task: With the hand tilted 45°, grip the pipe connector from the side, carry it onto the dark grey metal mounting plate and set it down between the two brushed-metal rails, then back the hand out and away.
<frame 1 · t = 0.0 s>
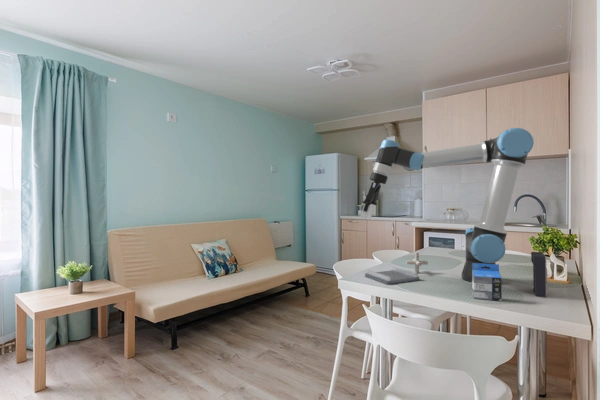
hand: (365, 217, 150), 28 cm above the table, tool tilted 20°, fingers open, 13 cm apart
pipe connector: (417, 273, 160), on the table
ink cartridge box: (486, 299, 118), on the table
calculator: (539, 293, 124), on the table
mounting plate: (391, 278, 149), on the table
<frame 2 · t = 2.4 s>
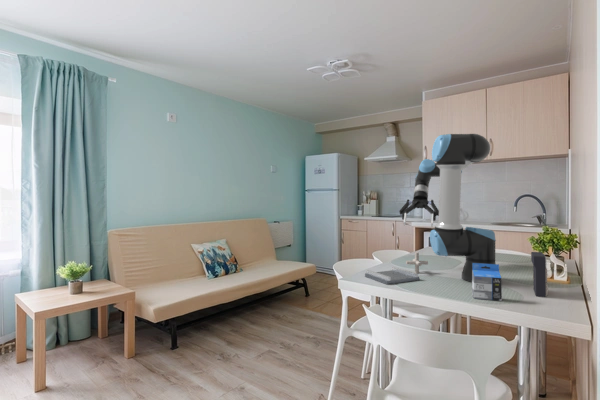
hand: (418, 224, 170), 23 cm above the table, tool tilted 40°, fingers open, 13 cm apart
nothing on the table moved.
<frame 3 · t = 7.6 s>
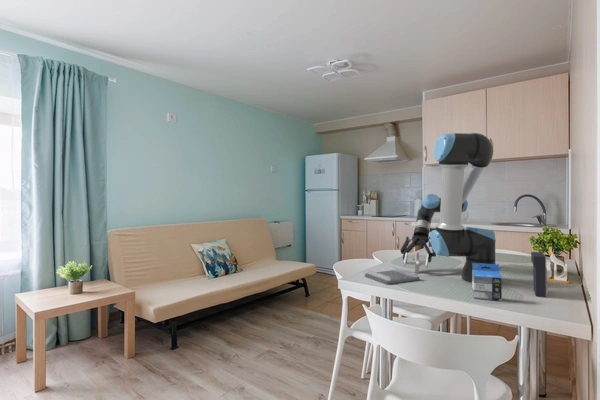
hand: (415, 265, 158), 4 cm above the table, tool tilted 45°, fingers closed on pipe connector, 9 cm apart
pipe connector: (417, 273, 160), on the table, touching gripper
everything else where it was.
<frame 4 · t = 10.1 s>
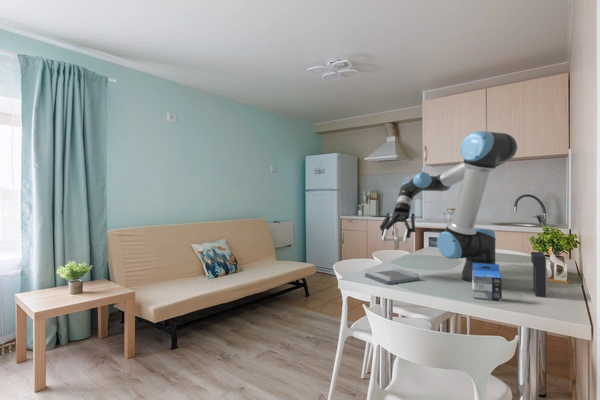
hand: (393, 241, 152), 16 cm above the table, tool tilted 45°, fingers closed on pipe connector, 9 cm apart
pipe connector: (396, 249, 155), point 12 cm above the table, touching gripper
everything else where it was.
when the fingers open (7 cm above the table, at t = 12.9 s): pipe connector drops 1 cm, resting on mounting plate.
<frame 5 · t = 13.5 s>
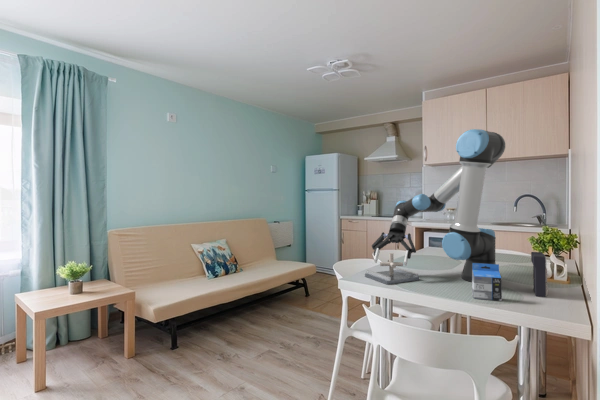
hand: (389, 262, 147), 8 cm above the table, tool tilted 45°, fingers open, 13 cm apart
pipe connector: (391, 275, 149), point 1 cm above the table, touching mounting plate
everything else where it was.
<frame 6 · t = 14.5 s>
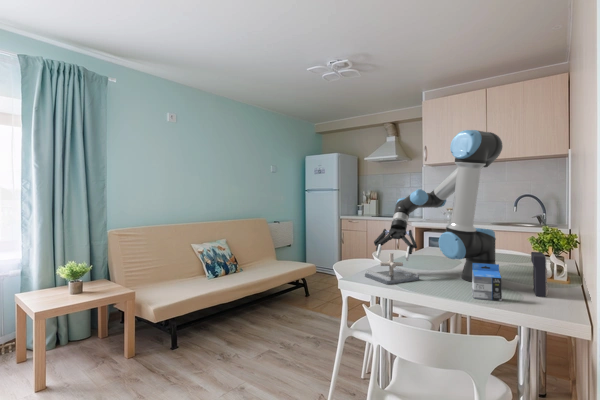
hand: (391, 258, 152), 9 cm above the table, tool tilted 45°, fingers open, 13 cm apart
nothing on the table moved.
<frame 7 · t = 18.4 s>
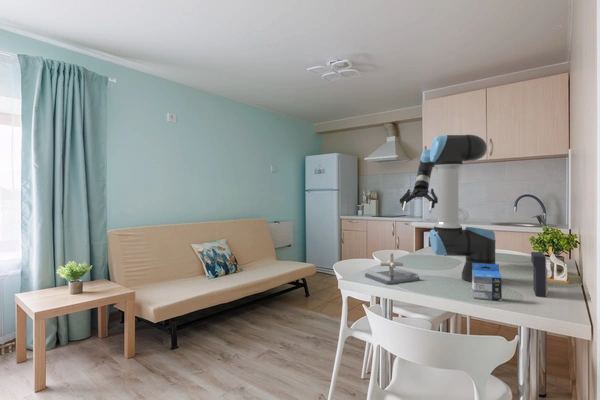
hand: (416, 211, 173), 30 cm above the table, tool tilted 45°, fingers open, 13 cm apart
nothing on the table moved.
at the end: pipe connector inside the target area on the mounting plate (0.1 cm from its centre), point 1.3 cm above the mounting plate's base; pipe connector touching mounting plate; the gripper is holding nothing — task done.
